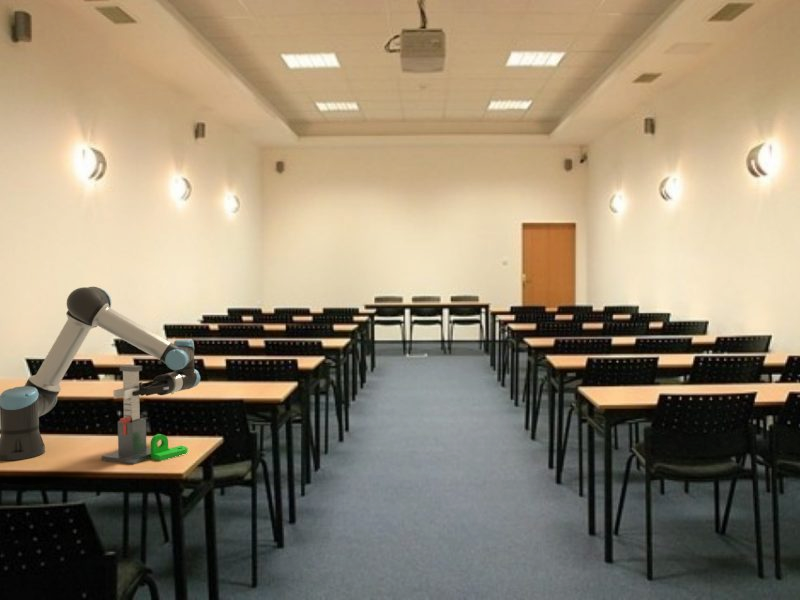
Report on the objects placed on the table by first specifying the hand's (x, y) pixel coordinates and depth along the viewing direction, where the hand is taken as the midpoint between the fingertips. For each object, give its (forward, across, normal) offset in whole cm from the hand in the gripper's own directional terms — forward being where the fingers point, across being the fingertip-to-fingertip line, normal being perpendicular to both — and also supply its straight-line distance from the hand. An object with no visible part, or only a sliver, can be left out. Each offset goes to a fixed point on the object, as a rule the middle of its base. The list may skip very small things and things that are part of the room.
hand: (119, 394), depth 214 cm
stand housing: (-6, 0, -23) cm, 23 cm away
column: (-5, 0, -19) cm, 19 cm away
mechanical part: (-11, -12, -23) cm, 28 cm away
